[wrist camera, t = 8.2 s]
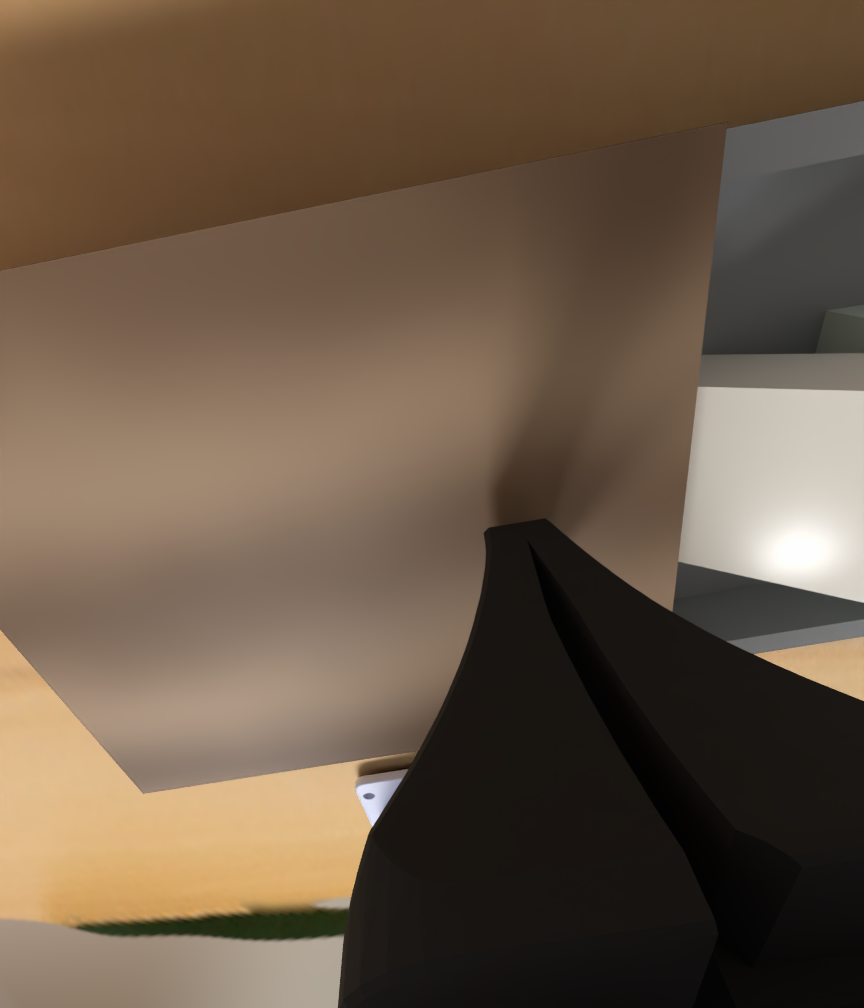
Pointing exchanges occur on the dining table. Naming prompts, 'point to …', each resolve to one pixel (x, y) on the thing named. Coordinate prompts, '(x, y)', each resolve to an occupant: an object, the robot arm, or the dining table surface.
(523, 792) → the robot arm
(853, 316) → the sage tile
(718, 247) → the tray
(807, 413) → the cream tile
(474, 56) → the dining table surface
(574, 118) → the dining table surface
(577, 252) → the walnut board
